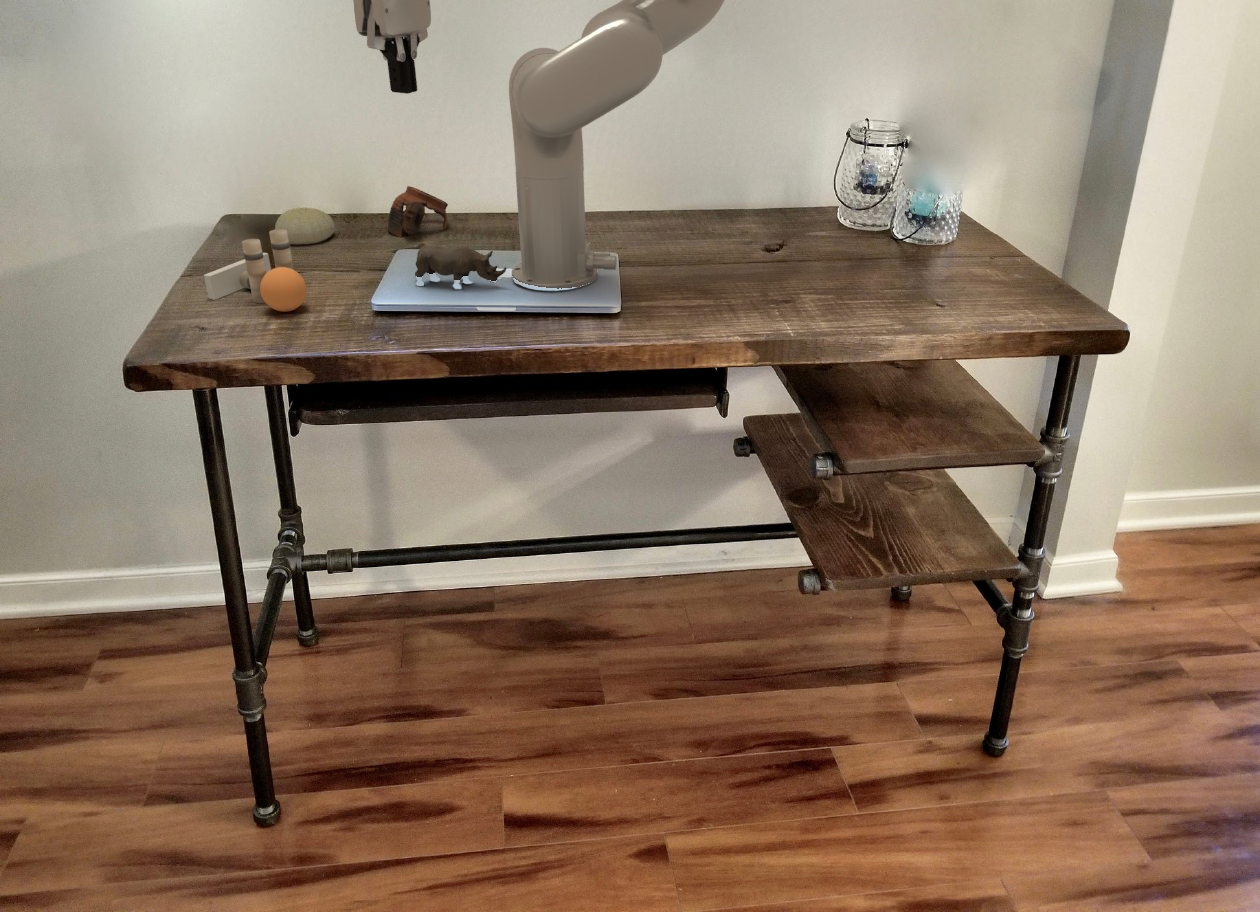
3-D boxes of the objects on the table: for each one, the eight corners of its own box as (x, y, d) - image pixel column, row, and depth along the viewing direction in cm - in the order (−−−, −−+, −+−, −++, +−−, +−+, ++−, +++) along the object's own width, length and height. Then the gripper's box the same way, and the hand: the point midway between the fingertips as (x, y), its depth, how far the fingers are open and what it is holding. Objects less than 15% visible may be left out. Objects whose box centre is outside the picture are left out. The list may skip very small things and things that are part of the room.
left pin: (274, 297, 147) (263, 238, 143) (267, 303, 145) (255, 244, 141) (257, 296, 147) (245, 238, 143) (249, 303, 145) (238, 244, 141)
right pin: (300, 286, 151) (290, 229, 147) (293, 292, 149) (283, 234, 145) (283, 285, 151) (273, 228, 147) (276, 291, 149) (265, 234, 145)
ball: (273, 271, 145) (314, 271, 144) (272, 314, 145) (313, 314, 144) (252, 263, 139) (295, 263, 138) (251, 308, 139) (293, 308, 138)
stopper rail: (272, 276, 155) (268, 253, 153) (214, 300, 146) (209, 276, 145) (266, 274, 155) (262, 252, 154) (208, 298, 147) (203, 275, 145)
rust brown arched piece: (385, 227, 177) (403, 182, 176) (437, 250, 179) (455, 205, 178) (378, 230, 166) (397, 181, 164) (434, 254, 168) (453, 207, 166)
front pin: (297, 282, 147) (254, 272, 151) (285, 279, 145) (241, 269, 149) (294, 299, 148) (251, 289, 151) (281, 296, 145) (238, 286, 149)
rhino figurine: (503, 294, 148) (500, 253, 145) (412, 288, 150) (407, 248, 147) (511, 284, 151) (508, 244, 148) (422, 278, 153) (417, 239, 150)
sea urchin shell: (323, 237, 165) (284, 201, 163) (297, 269, 169) (258, 234, 167) (348, 220, 173) (311, 185, 171) (322, 251, 176) (286, 217, 175)
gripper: (401, -67, 135) (417, 80, 144) (321, -61, 124) (343, 99, 133) (448, -67, 132) (461, 84, 141) (369, -59, 120) (389, 104, 130)
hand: (404, 91), depth 137 cm, fingers closed
